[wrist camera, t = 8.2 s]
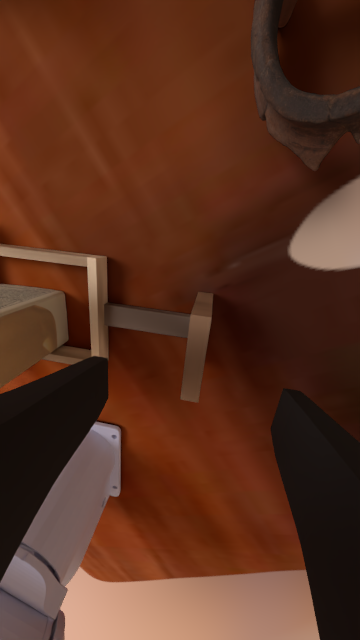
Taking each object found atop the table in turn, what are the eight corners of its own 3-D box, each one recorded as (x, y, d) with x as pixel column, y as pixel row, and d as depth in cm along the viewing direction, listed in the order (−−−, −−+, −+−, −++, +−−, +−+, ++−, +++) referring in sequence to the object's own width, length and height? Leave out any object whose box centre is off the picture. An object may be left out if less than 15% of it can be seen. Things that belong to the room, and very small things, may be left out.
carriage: (200, 375, 17) (194, 424, 13) (-3, 340, 19) (-72, 371, 15) (217, 269, 15) (217, 284, 10) (-24, 241, 16) (-118, 241, 12)
